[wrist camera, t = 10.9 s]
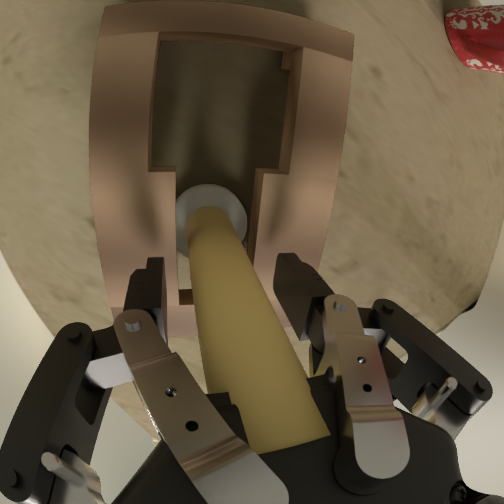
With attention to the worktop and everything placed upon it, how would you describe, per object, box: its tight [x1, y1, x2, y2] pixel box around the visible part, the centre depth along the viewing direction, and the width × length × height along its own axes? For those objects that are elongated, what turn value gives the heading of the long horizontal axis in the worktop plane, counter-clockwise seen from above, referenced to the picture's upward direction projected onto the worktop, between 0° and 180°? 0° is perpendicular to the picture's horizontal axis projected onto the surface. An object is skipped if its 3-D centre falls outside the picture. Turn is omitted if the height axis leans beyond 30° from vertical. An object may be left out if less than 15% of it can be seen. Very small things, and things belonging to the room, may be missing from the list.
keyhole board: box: [89, 0, 354, 338], centre depth 14 cm, size 18×12×5 cm, turn 174°
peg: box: [176, 184, 331, 454], centre depth 11 cm, size 5×5×15 cm
